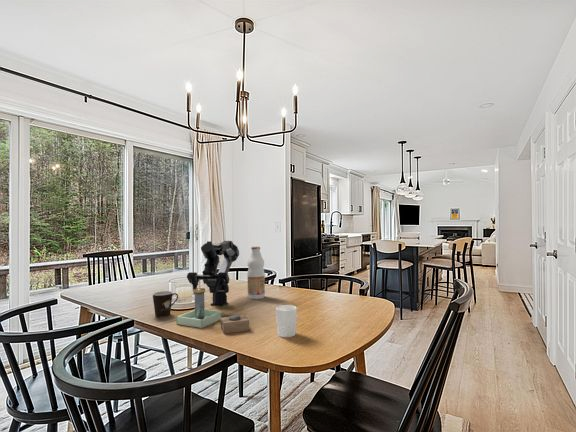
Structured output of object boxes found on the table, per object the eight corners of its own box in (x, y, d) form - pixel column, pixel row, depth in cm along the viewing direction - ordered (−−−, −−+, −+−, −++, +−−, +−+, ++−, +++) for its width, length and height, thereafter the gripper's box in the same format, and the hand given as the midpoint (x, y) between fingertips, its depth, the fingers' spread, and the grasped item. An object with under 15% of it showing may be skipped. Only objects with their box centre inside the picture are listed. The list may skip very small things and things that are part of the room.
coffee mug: (153, 319, 145) (153, 296, 145) (151, 314, 153) (151, 292, 153) (181, 315, 151) (180, 293, 151) (177, 310, 158) (177, 289, 158)
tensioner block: (220, 327, 132) (220, 315, 132) (245, 324, 136) (245, 313, 136) (223, 333, 125) (223, 320, 126) (249, 330, 129) (249, 317, 129)
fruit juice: (248, 300, 177) (248, 247, 177) (246, 296, 186) (246, 246, 186) (266, 298, 179) (265, 247, 179) (263, 295, 188) (262, 245, 188)
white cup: (275, 331, 127) (275, 305, 128) (295, 330, 128) (295, 304, 128) (276, 338, 120) (276, 311, 120) (298, 337, 120) (297, 310, 120)
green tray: (176, 323, 138) (176, 316, 138) (197, 315, 150) (197, 308, 150) (201, 327, 132) (201, 320, 132) (221, 318, 144) (221, 311, 144)
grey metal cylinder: (192, 319, 141) (191, 289, 142) (202, 317, 145) (202, 287, 145) (196, 322, 138) (196, 291, 138) (207, 319, 141) (207, 289, 141)
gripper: (233, 275, 163) (228, 303, 152) (197, 274, 164) (189, 303, 154) (229, 261, 155) (223, 290, 144) (190, 261, 157) (181, 290, 146)
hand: (204, 294), depth 147 cm, fingers open, 9 cm apart
